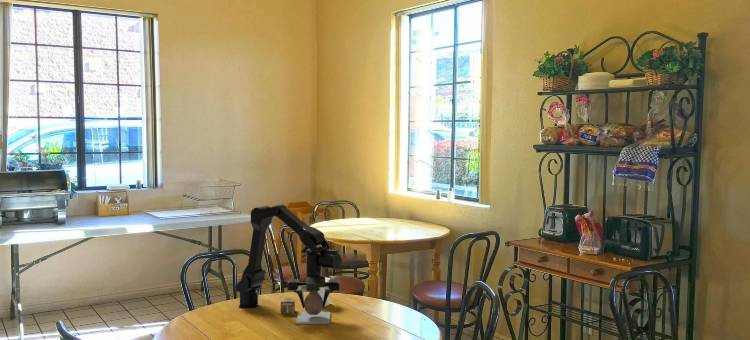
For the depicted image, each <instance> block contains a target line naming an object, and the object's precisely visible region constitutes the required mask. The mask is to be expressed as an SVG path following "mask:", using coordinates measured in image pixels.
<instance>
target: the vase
mask: <svg viewBox="0 0 750 340" xmlns="http://www.w3.org/2000/svg"><path fill="white" fill-rule="evenodd" d="M303 309H304V311H305V312H307V313H308V314H309V315H317V314H319V313H320V312H323V309H324V308H323V299H322V297H321V295H320V294H319V293H318V291H308V293H307V295H306V296H305V297H304V308H303Z"/></svg>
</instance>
